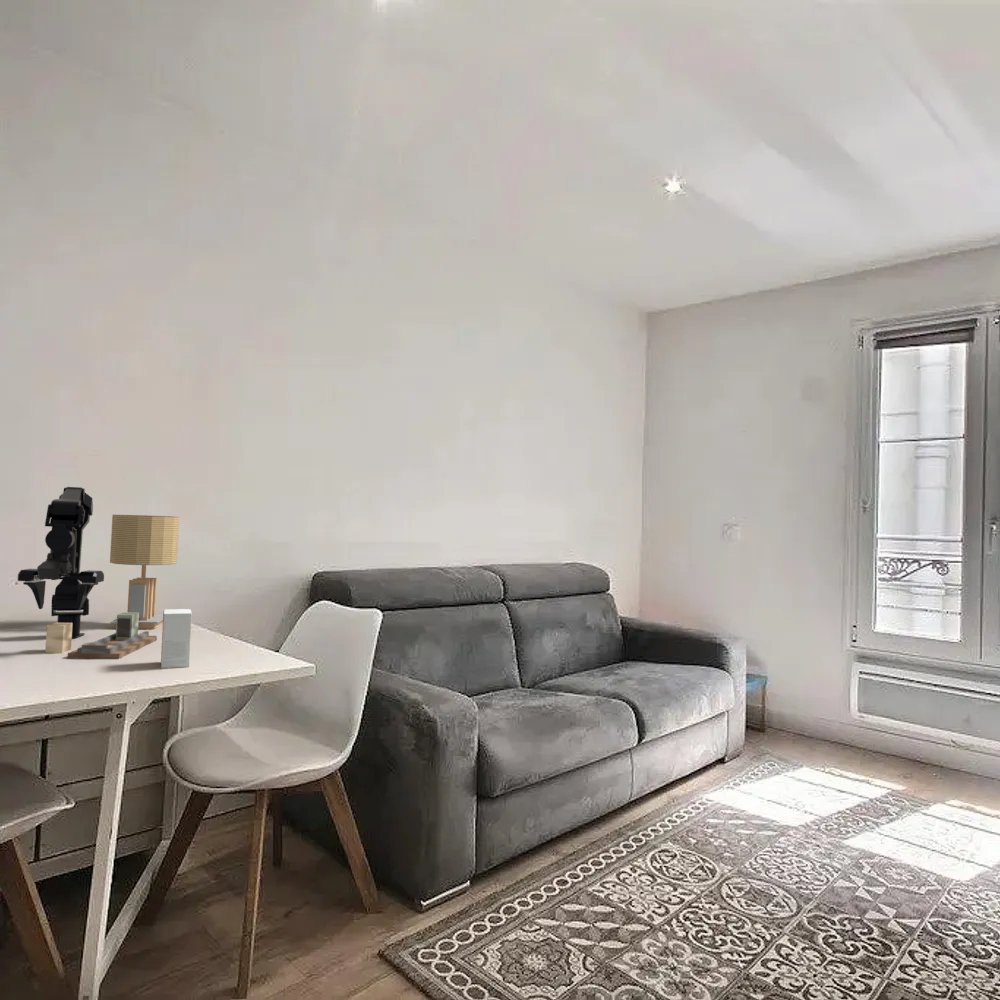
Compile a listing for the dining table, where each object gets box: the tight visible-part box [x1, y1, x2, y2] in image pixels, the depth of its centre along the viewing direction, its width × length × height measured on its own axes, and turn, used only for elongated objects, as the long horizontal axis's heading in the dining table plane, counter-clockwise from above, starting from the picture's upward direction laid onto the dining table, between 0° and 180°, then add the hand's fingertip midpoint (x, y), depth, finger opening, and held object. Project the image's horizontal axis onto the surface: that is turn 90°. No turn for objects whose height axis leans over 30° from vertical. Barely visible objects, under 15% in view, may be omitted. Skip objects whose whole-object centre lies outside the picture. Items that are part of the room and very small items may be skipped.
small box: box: [160, 608, 193, 669], centre depth 177 cm, size 8×6×13 cm
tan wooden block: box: [45, 622, 73, 654], centre depth 187 cm, size 5×4×7 cm
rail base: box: [66, 611, 158, 660], centre depth 194 cm, size 28×12×8 cm, turn 8°
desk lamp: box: [109, 514, 180, 630], centre depth 233 cm, size 20×20×35 cm
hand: (59, 609), depth 187 cm, fingers open, 9 cm apart
